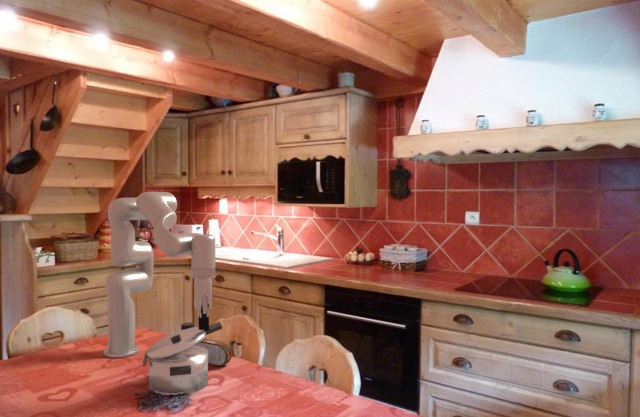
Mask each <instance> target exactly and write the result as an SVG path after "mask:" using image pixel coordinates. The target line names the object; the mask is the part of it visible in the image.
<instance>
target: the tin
mask: <svg viewBox="0 0 640 417" xmlns="http://www.w3.org/2000/svg"><path fill="white" fill-rule="evenodd" d="M196 345H197V346H201V347H204V348H206V349H207V350H208V365H211V366H215V367H224V366H225V365H227V364H229V363H230V362H231V360H232V350H231V349H230V347H229V345H228V344H227V343H226V342H224V341H219V340H213V339H209V338H204V339H203V340H202V341H200V342H199V343H198V344H196Z"/></svg>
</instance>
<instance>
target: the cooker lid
mask: <svg viewBox="0 0 640 417" xmlns="http://www.w3.org/2000/svg"><path fill="white" fill-rule="evenodd" d="M222 329H223V325H222V323H221V322H220V320H219V321H217V322H214V323H212V324H209V329H208V330H199V328H198V326H194V327H193V328H188V329H185V330H179V331H175V332H174V333H172V334H169V335H167V336H165V337H163V338H162V339H159V340H158V341H156V342H155V343H153V344H152V345H151V346H150V347H149V348H147V350H146V351H144V352H145V353H144V356H145V358H147V359H148V360H149V359H152V360H156V359H163V358H167V357H170V356H173V355H176V354H179V353H181V352H183V351H185V350H187V349H189V348H191V347H193V346H195V345H196V344H198V343H199V342H200V341H202V340H203V339H206V337H207V336H208V335H210V334H213V333H215V332H218V331H219V330H222Z"/></svg>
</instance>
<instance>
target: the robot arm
mask: <svg viewBox="0 0 640 417" xmlns="http://www.w3.org/2000/svg"><path fill="white" fill-rule="evenodd" d="M177 208H178V201H177V198H176V197H175V196H174V194H172V193H171V192H168V191H145V192H142V193H140V194H139V195H138V196H137V197H120V198H116V199H114V200H112V201H111V203H110V204H109V205H108V210H107V218H108V223H109V227H110V262H111V264H112V265H113V266H115V267H118V268H122V267H123V268H125V267H134V266H135V267H136V268H128V269H120V270H115V271H113V272H110V273H109V274H108V275H107V276H106V279H105V289H106V294H107V304H108V305H107V320H108V322H107V326H108V328H107V329H108V330H107V332H108V333H107V348H105V349H104V350H103V356H105V357H107V358H124V357H130V356H134V355H136V354H137V353H138V352H139V351H140V348H139V346H138V345H136V305H135V302H134V301H133V298H132V297H131V296H130V295H134V294H138V293H139V294H140V293H144V292H147V291H150V289H151V288H152V287H153V283H154V264H155V263H154V260H155V258H154V249H153V247H152V245H151V244H150V242H148V241H145V240H136V231H135V230H136V229H135V226H133V224H132V223H131V221H148V222H149V223H150V224H151V225H152V227H153V229H152V236H153V240H154V243H155V245H156V246H157V247H158V249H159V250H160V251H161V252H162V253H163V254H165V255H166V256H167V257H170V258H179V257H186V256H187V257H189V256H190V258H191V268H190V269H191V274H190V275H191V278H192V279H194V286H193V288H194V289H193V290H194V292H193V296H194V297H193V306H194V309H195V310H198V319H197V320H198V321H197V322H198V323H197V324H198V326H197V327H198V328H199V330H208V329H209V325H210V317H209V309H212V300H213V299H212V298H213V292H212V291H213V289H212V288H213V281H212V280H213V279H212V278H216V237H215V236H214V235H213V234H209V233H208V234H202V233H198V232H185V233H181V232H180V233H173V232H171V231H170V229H172V228H173V227H174V226H175V225H176V223H177V221H178V219H177V218H178V215H177V213H176V210H177Z"/></svg>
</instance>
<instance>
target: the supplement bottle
mask: <svg viewBox="0 0 640 417" xmlns="http://www.w3.org/2000/svg"><path fill="white" fill-rule="evenodd" d="M193 327H195V323H194V322H188V321H187V322H183V323H181V324H180V331H182V330H185V329H188V328H193Z"/></svg>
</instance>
